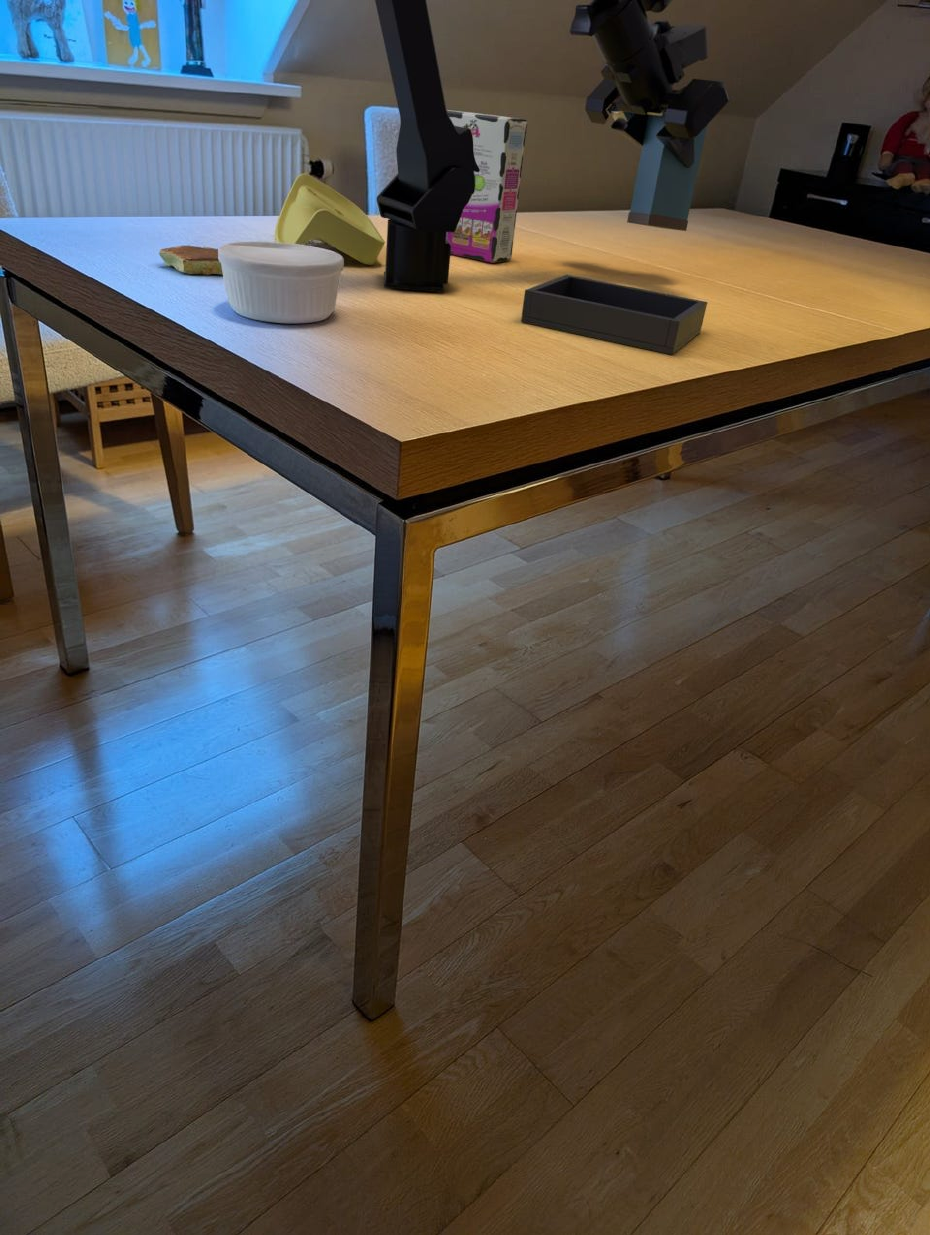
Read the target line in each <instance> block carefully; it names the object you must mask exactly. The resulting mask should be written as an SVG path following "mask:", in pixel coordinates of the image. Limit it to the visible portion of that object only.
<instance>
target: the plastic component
mask: <svg viewBox="0 0 930 1235" xmlns="http://www.w3.org/2000/svg"><path fill="white" fill-rule="evenodd" d="M314 239H317V240H318V241H319V242H323V243H325V244H326V245H328V246H331V247H333V248H335V249H337V250H339V251H340V252H342V253H344V254H346V255H347V256H349V257H350V258H352V259H354V260H356V261H357V262H360V263H362V264H364V265H366V266H371V265H374V264H375V262H376V260H377V258H378V256H379V255H380V253H381V251H382V249H383V247H384V246H385V244H386V241H385V240H384V238H383V236H382V235H381V233H380V232H379V231H378V229H377V228H376V226H375V224H374V223H373V222H372V220H371V218H370V217H369V216H368V215H367V213H365V211H363V209H361V208H360V207H359V206H358V205H356V204H355V203H354V202H352V201H351V200H350V199H348V198H347V197H346V196H344V195H342V194H341V193H339V192H338V191H336V190H335V189H334V188H331V187H330V186H328V185H327V184H326V183H324V182H322V181H320V180H319V179H317V178H315V177H314V176H312V175H310V174H308V173H301V174H298V175H297V176H296V178H295V180H294V181H293V184H292V186H291V188H290V189H289V192H288V194H287V196H286V197H285V200H284V203H283V204H282V208H281V210H280V213H279V215H278V218H277V221H276V225H275V229H274V242H279V243H290V244H299V245H306V246H307V244H308V242H309V241H311V240H314Z"/></svg>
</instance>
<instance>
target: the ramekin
mask: <svg viewBox="0 0 930 1235" xmlns="http://www.w3.org/2000/svg"><path fill="white" fill-rule="evenodd" d="M217 249H218V259H219V261H220V263H221V266H222V272H223V275H222V277H223V282H224V287H225V288H224V289H225V294H226V296H227V297H226V298H227V301H228V305H229V306H230V307H231V308H232V310H233V311H234V312H235V313H236V314H238V315H240V316H242V317H244V318H248V319H251V320H255V321H261V322H268V323H276V324H308V323H309V324H310V323H317V322H320V321H324V320H326V319H327V318H329V317H330V316H331V314H332V313H333V312H334V311H335V308H336V306H337V299H338V298H337V297H338V293H339V286H340V279H341V273H342V271H343V270H344V268H345V261H344V257H343V255H341V254H340V253H338V252H336V251H333V250H330V249H326V248H324V247H323V248H322V247H317V246H311V245H307V244H306V245H299V244H290V243H279V242H276V241H252V240H251V241H236V242H229V243H225V244H223V245H220V246H219V247H218V248H217Z"/></svg>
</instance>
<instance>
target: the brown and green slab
mask: <svg viewBox="0 0 930 1235" xmlns="http://www.w3.org/2000/svg"><path fill="white" fill-rule="evenodd" d="M218 249H219V248H213V247H209V246H203V247H202V246H194V245H179V246H171V247H165V248H161V249H160V250H159V251H158V255H159V257H160V258H161V259H162V261H163V262H164V265H165V266H167V267H171V266H172V267H174V268H175V269H176V271H179V272H180V273H185V274H186V275H205V276H206V275H208V276H209V275H222V276H223V272H222V266H221V263H220V261H219V259H218Z"/></svg>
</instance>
